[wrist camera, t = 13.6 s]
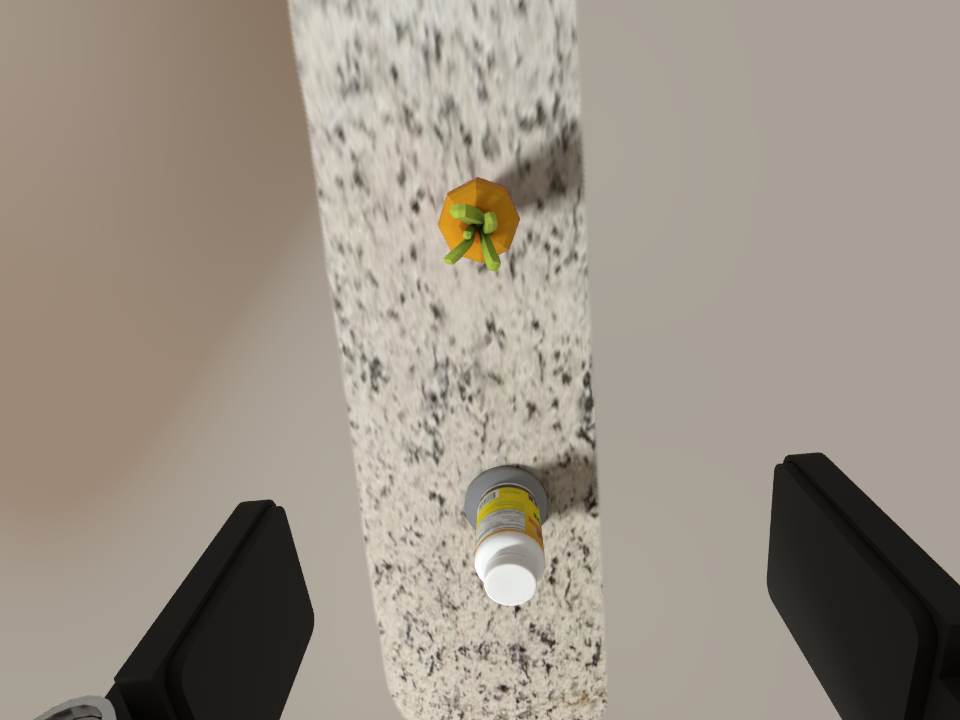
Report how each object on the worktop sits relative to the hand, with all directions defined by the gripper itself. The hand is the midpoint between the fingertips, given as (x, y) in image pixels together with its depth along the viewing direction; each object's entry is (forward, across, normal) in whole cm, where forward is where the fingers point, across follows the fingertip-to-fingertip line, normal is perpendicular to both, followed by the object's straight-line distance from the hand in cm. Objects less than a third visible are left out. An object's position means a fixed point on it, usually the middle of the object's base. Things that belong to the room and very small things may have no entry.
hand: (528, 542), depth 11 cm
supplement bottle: (+36, +2, +24) cm, 43 cm away
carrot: (+36, +2, -3) cm, 37 cm away
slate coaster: (+36, +2, +24) cm, 44 cm away
